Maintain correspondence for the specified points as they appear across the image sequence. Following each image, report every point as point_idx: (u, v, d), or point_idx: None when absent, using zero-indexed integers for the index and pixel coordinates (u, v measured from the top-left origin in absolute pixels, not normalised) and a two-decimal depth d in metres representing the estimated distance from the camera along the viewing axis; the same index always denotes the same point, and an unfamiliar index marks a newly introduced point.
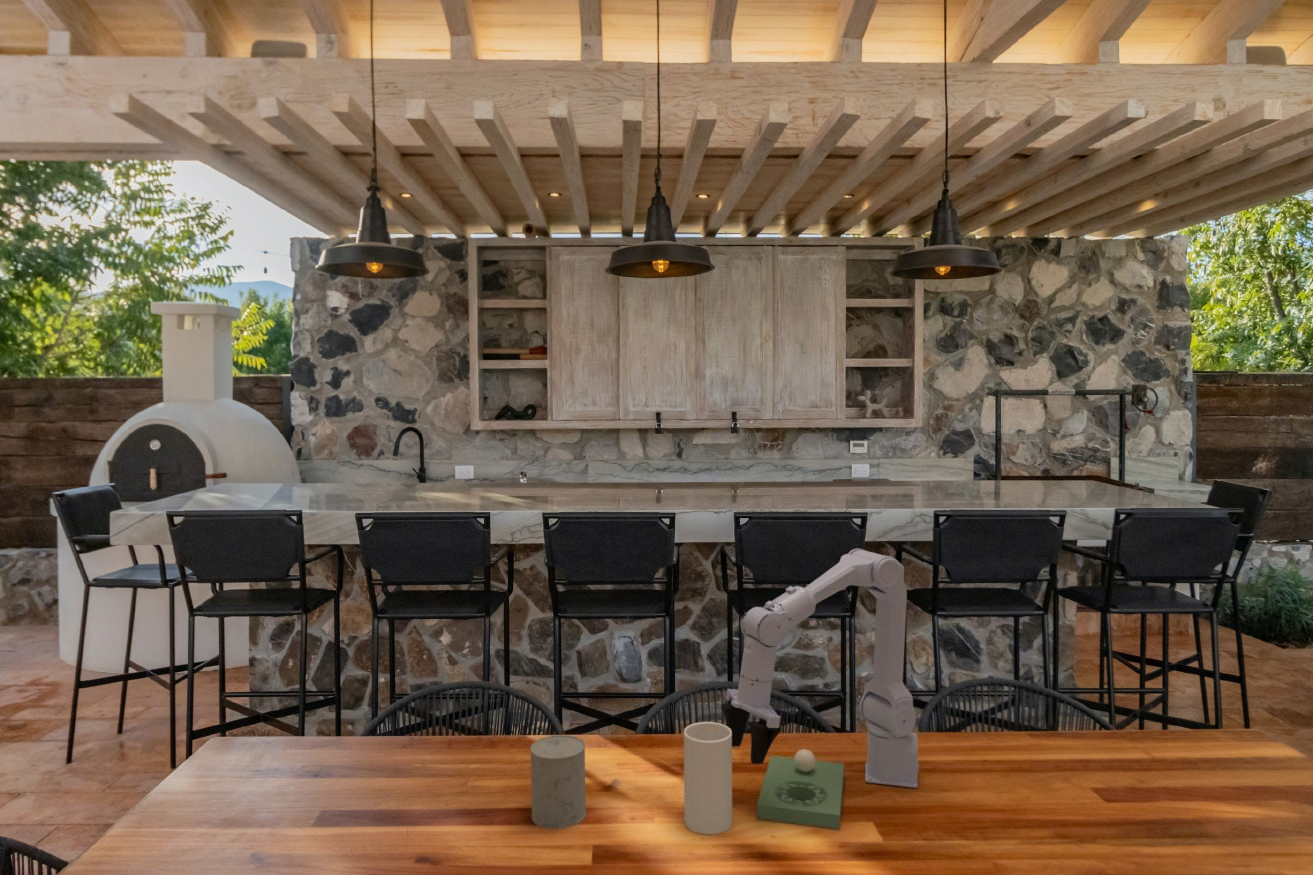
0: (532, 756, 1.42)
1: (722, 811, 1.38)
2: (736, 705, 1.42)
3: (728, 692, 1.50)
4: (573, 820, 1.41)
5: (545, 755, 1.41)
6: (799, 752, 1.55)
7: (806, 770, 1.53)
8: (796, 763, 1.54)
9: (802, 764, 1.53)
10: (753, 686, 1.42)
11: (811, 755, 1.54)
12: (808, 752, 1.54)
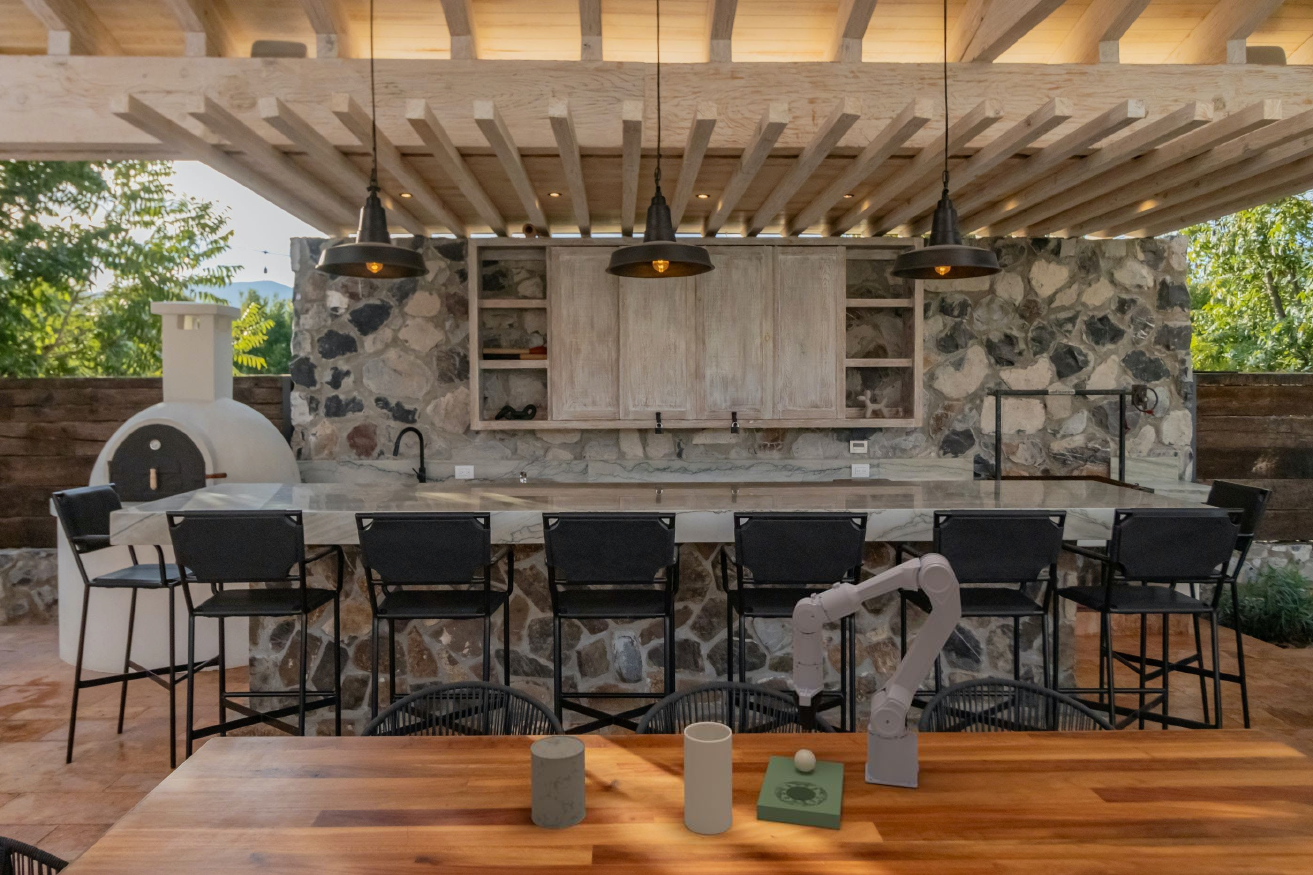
0: (532, 756, 1.42)
1: (722, 811, 1.38)
2: (787, 683, 1.61)
3: None
4: (573, 820, 1.41)
5: (545, 755, 1.41)
6: (799, 752, 1.55)
7: (806, 770, 1.53)
8: (796, 763, 1.54)
9: (802, 764, 1.53)
10: (797, 668, 1.59)
11: (811, 755, 1.54)
12: (808, 752, 1.54)
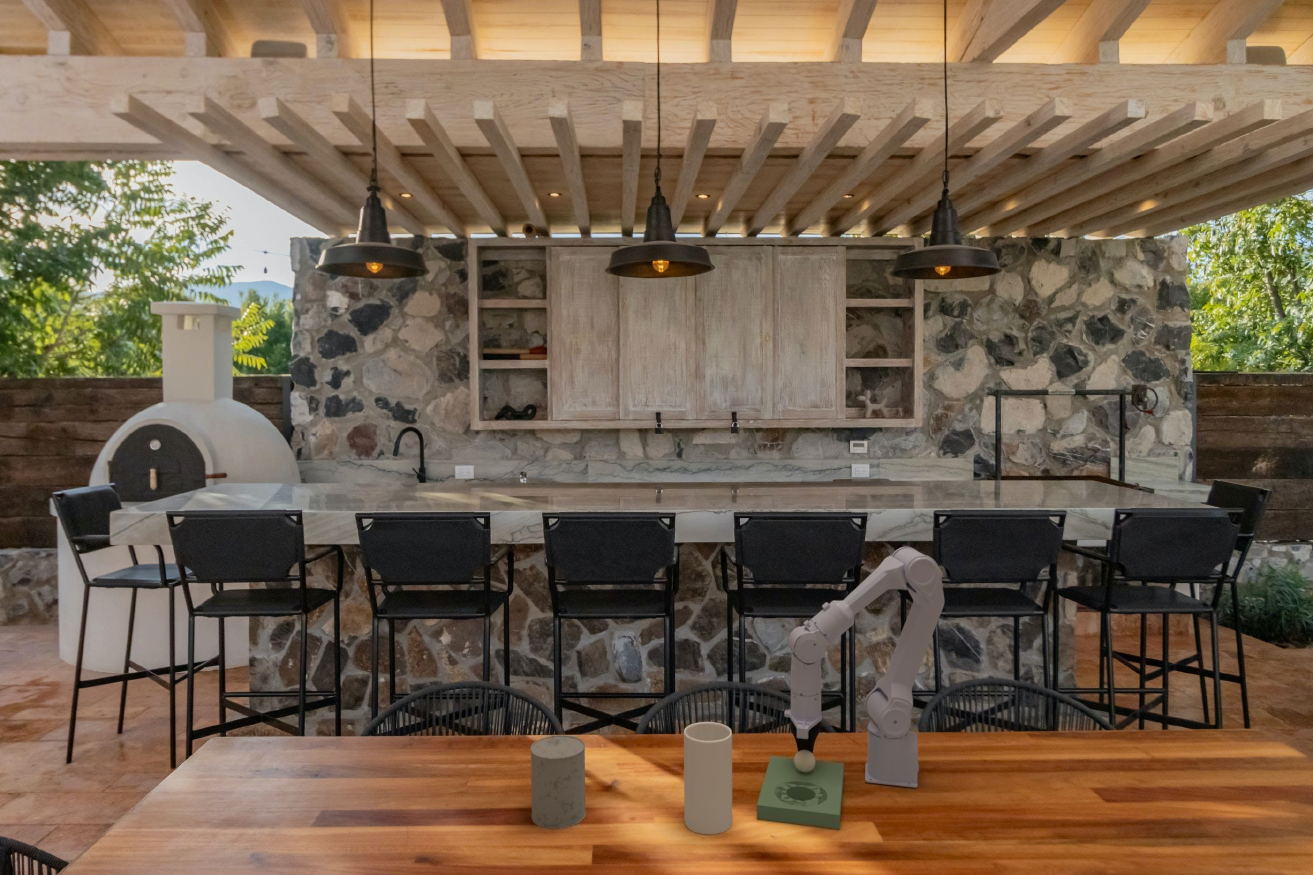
0: (532, 756, 1.42)
1: (722, 811, 1.38)
2: (785, 714, 1.57)
3: None
4: (573, 820, 1.41)
5: (545, 755, 1.41)
6: (799, 753, 1.54)
7: (806, 771, 1.53)
8: (796, 764, 1.54)
9: (802, 765, 1.53)
10: (795, 698, 1.55)
11: (811, 756, 1.54)
12: (808, 753, 1.54)
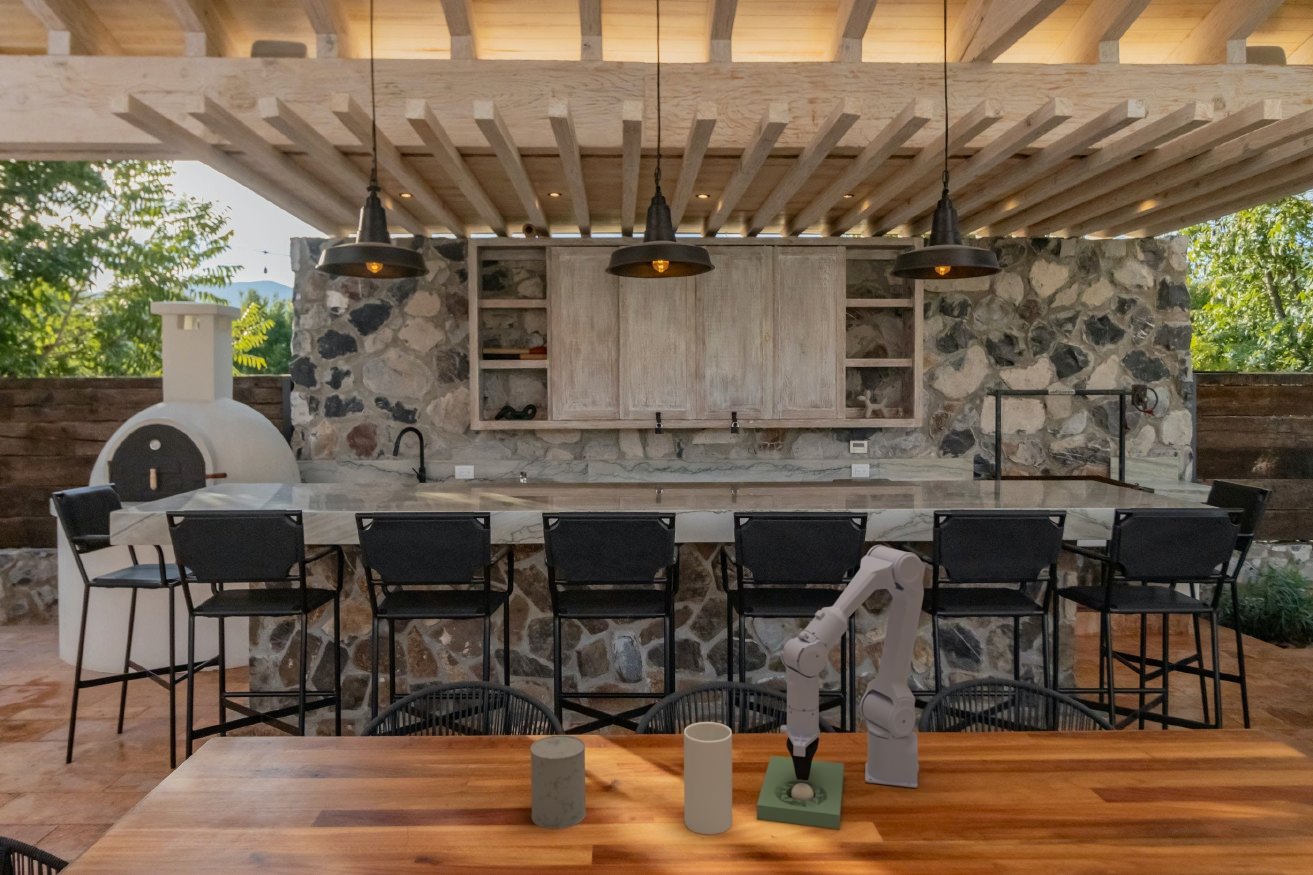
0: (532, 756, 1.42)
1: (722, 811, 1.38)
2: (781, 730, 1.50)
3: None
4: (573, 820, 1.41)
5: (545, 755, 1.41)
6: None
7: (807, 785, 1.47)
8: (796, 784, 1.48)
9: None
10: (791, 714, 1.48)
11: None
12: None
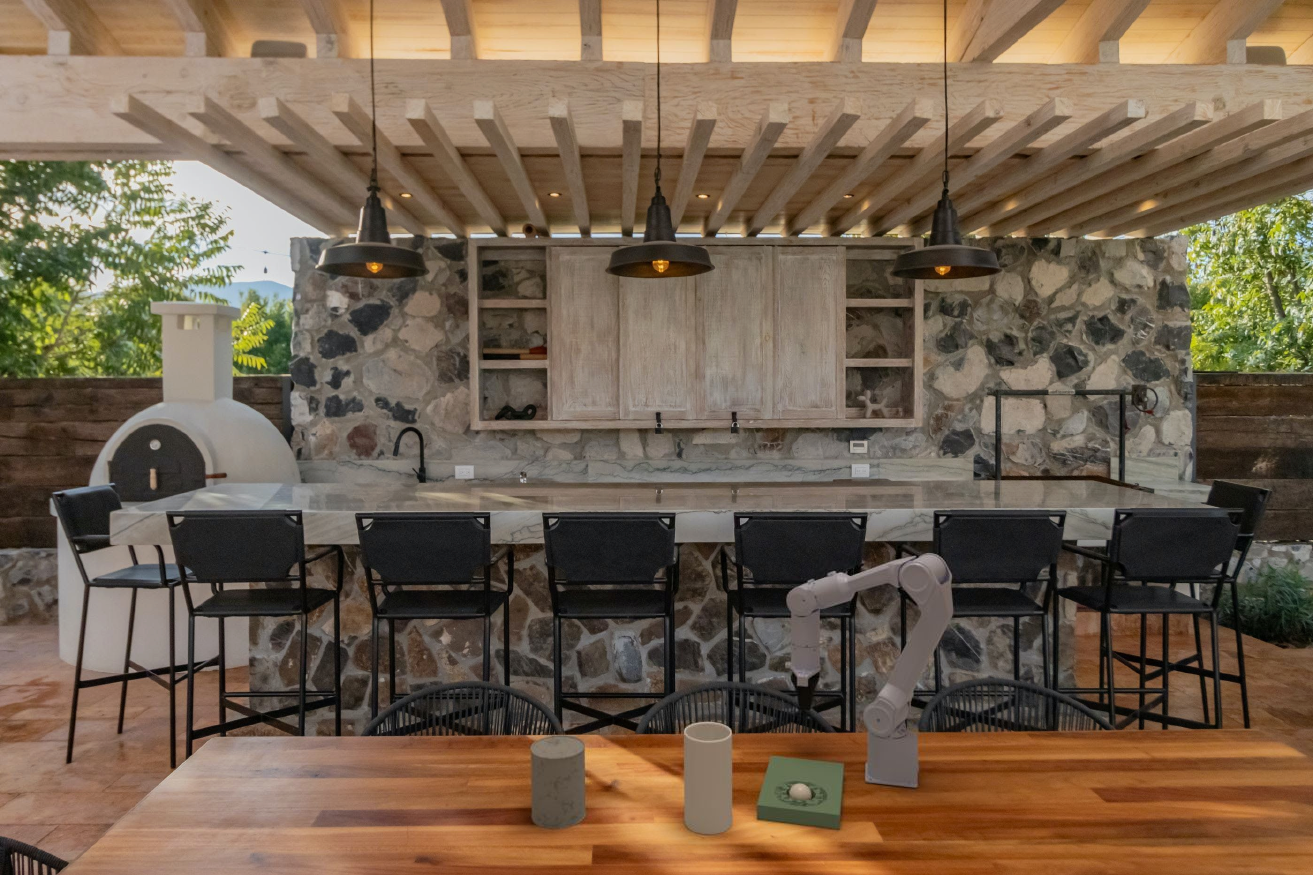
0: (532, 756, 1.42)
1: (722, 811, 1.38)
2: (785, 665, 1.67)
3: None
4: (573, 820, 1.41)
5: (545, 755, 1.41)
6: None
7: (803, 785, 1.46)
8: (793, 785, 1.48)
9: None
10: (795, 650, 1.65)
11: None
12: None
